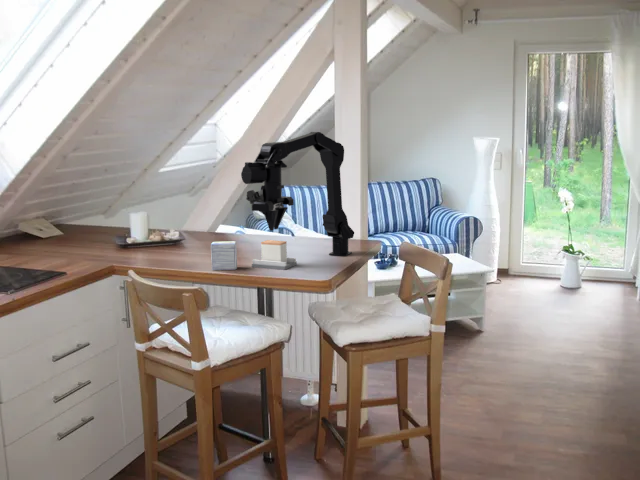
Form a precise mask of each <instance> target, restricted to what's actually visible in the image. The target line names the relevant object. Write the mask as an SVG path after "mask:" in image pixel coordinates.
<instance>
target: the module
mask: <svg viewBox="0 0 640 480" xmlns="http://www.w3.org/2000/svg"><path fill="white" fill-rule="evenodd" d="M260 244H261V245H260V247H261V248H260V249H261V260H265V261H277V262H287V258H288V255H287V254H288V252H287V251H288V250H287V249H288V248H287V245H288V244H287V241H286V240H285V241H284V240H271V239H267V240H264V241H261V242H260Z"/></svg>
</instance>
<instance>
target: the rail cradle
mask: <svg viewBox="0 0 640 480" xmlns="http://www.w3.org/2000/svg"><path fill="white" fill-rule="evenodd" d="M296 260H297V258H295V257H287V262H277V261H265V260H262V259H252V263H251V267H252V268H258V267H259V269H260V268H261V269H269V268H270V270H283V271H285V270H287V269H290V268H292V267H294V266H296V265H298V263H297V262H298V261H296Z"/></svg>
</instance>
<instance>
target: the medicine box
mask: <svg viewBox="0 0 640 480" xmlns="http://www.w3.org/2000/svg"><path fill="white" fill-rule="evenodd" d="M237 249H238V248H237V241H233V240H232V241H212V243H211V244H210V255H211V256H210V257H211V260H210V261H211V271H219V270H221V271H223V270H224V271H226V270H228V271H229V270H233V271H234V270H237V269H238V254H237V252H238V250H237Z"/></svg>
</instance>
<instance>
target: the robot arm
mask: <svg viewBox="0 0 640 480" xmlns="http://www.w3.org/2000/svg"><path fill="white" fill-rule="evenodd" d="M310 147H313V149H314V150H315V151H317V153H319V156H320V161H321V162H322V164H323V166H324V168H325V178H326V181H325V182H326V195H327V196H326V197H327V211H326V213H325V214H322V226H323V227H324V231H326V234H327V237H329V238H330V237H331V238H332V239H331V240H332V241H331V243H332V251H331V252H329V253H328V255H329V256H341V257H347V256H349V255H351V254H352V253H353V252H352V251H349V240H350V239H354V235H355V232H354V230H353V229H352V228H351V226H349V225H350V224H349V222H348V216H347V215H346V213H345V211H344V209H343V203H342V202H343V201H342V199H343V198H342V184H341V181H342V180H341V167H342V164H343V162H344V157H345V147H344V145H342V144H341V143H340V142H338V141H336V140H335V139H332V138H330V137H328V136H326V135H325V134H324V133H322V132H320V131H309V133H306V134H304V135H303V134H302V135H300V136H298V137H294V138H291V139H287V140H285V141H284V140H283V141H275V142H272V141H271V142H265V143H262V145H261V148H260V151H259V152H258V153H257V156H256V158H255V160H254V161H253V162H251V161H246V162H244V167H242V169H241V172H240V174H241V175H240V176H241V179H242V182H243V183H244V184H245V185H250V184H251V185H252V184H262V183H263V185H261V186H260V190H257V191H255V190H254V189H251V190H248V191H246V198H245V200H247V201H248V202H249V203H250V205H251V211H253V212H254V211H255V212H260V213H262V215H264V218H265V220H266V223H267V226H268V230H269V231H271V232H272V231H274V230H278V229H279V227H280V225H281V222H282V220H283V217H284V215H285V214H286V211H287V210H288V209H289V207H291V206H293V205H294V199H293V197H292V196H286V195H285V196H283V189H284V188H285V185H284V184H282V168H283V169H284V168H287V167H288V165H287V164H286V163H285V162H284V161H283V160H284V159H286V158H287V157H288V156H289V155H290V154H292V153H295V152H297V151H300V150H304V149H306V148H310ZM285 205H287V206H285ZM288 206H289V207H288Z"/></svg>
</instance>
